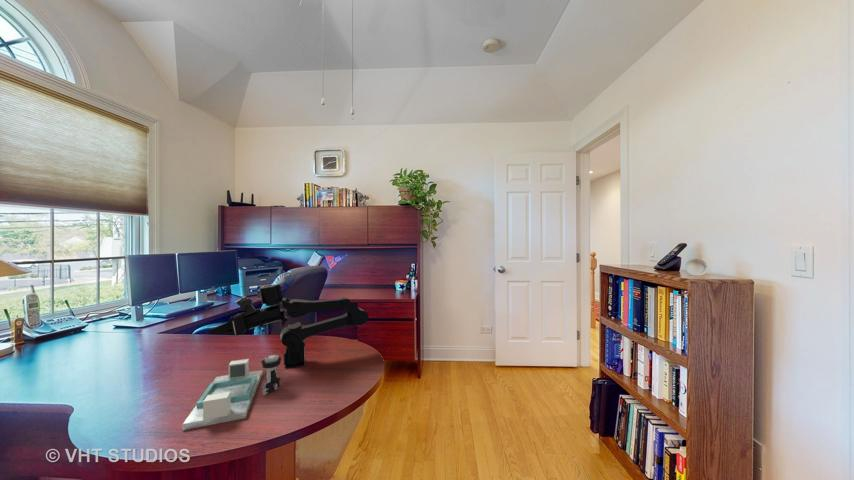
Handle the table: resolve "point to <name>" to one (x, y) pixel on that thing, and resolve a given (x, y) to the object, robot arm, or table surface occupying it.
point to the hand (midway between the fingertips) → (211, 331)
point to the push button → (271, 373)
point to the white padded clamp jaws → (222, 401)
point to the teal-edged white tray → (240, 399)
